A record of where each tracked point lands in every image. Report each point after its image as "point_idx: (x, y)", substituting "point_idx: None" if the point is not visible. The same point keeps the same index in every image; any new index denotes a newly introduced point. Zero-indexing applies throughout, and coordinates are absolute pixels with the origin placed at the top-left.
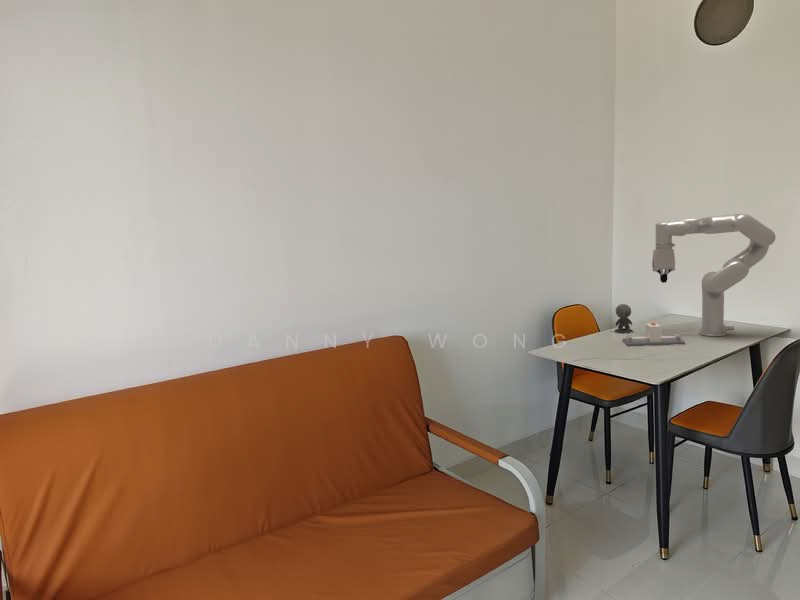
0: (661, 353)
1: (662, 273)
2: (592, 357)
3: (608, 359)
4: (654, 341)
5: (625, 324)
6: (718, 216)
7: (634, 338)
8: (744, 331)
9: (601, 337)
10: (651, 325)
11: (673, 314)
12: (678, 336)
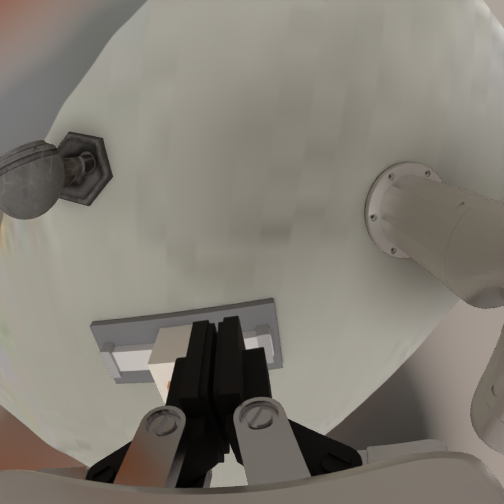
0: None
1: (198, 477)
2: (77, 442)
3: (108, 455)
4: None
5: (68, 185)
6: None
7: (127, 368)
8: (491, 174)
9: (27, 272)
10: None
11: None
12: (267, 363)
